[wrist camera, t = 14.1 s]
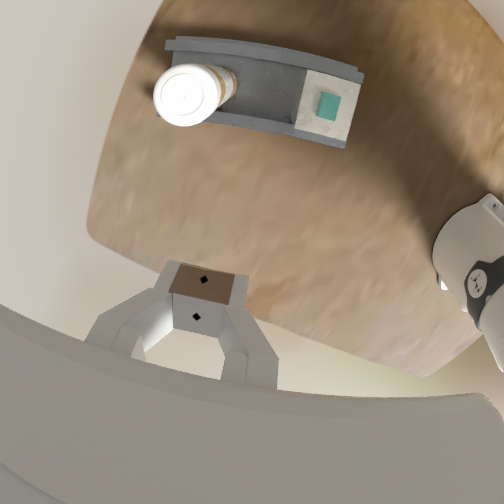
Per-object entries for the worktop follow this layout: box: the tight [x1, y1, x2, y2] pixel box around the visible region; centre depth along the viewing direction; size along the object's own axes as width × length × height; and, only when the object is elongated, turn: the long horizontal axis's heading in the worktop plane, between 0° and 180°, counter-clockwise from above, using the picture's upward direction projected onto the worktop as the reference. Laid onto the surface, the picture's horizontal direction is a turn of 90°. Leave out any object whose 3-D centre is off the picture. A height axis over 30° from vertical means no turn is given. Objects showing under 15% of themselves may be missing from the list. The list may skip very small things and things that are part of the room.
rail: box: [157, 36, 365, 149], centre depth 25 cm, size 20×10×8 cm, turn 80°
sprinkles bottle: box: [153, 64, 237, 126], centre depth 22 cm, size 5×5×13 cm
